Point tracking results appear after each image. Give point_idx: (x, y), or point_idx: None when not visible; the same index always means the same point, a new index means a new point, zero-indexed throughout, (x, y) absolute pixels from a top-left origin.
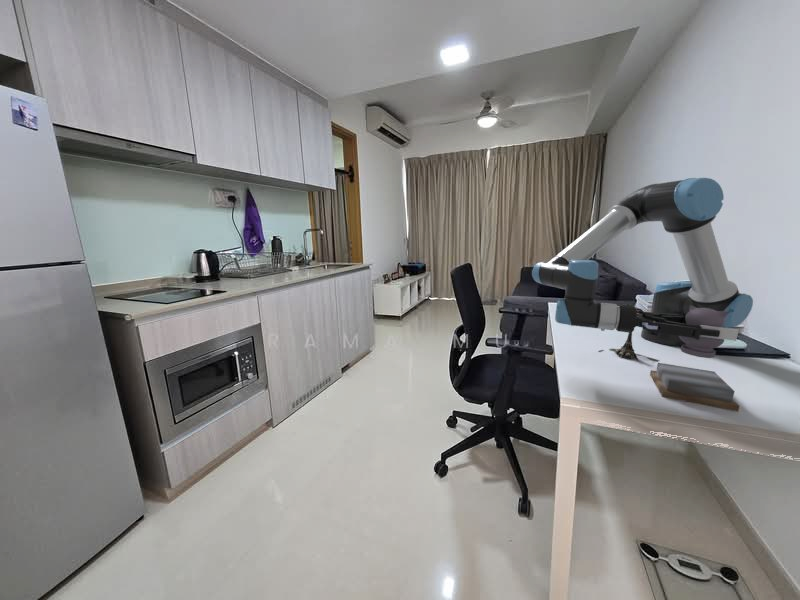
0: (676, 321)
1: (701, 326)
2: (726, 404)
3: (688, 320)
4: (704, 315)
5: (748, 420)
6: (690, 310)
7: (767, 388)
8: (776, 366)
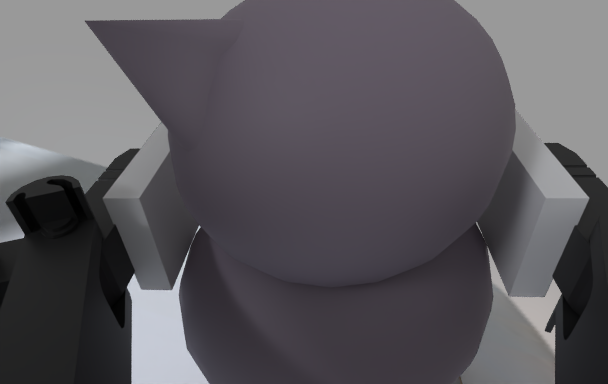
0: (111, 361)
1: (580, 205)
2: (460, 380)
3: (404, 248)
4: (499, 64)
5: (504, 353)
6: (195, 104)
7: (198, 228)
8: (39, 168)
